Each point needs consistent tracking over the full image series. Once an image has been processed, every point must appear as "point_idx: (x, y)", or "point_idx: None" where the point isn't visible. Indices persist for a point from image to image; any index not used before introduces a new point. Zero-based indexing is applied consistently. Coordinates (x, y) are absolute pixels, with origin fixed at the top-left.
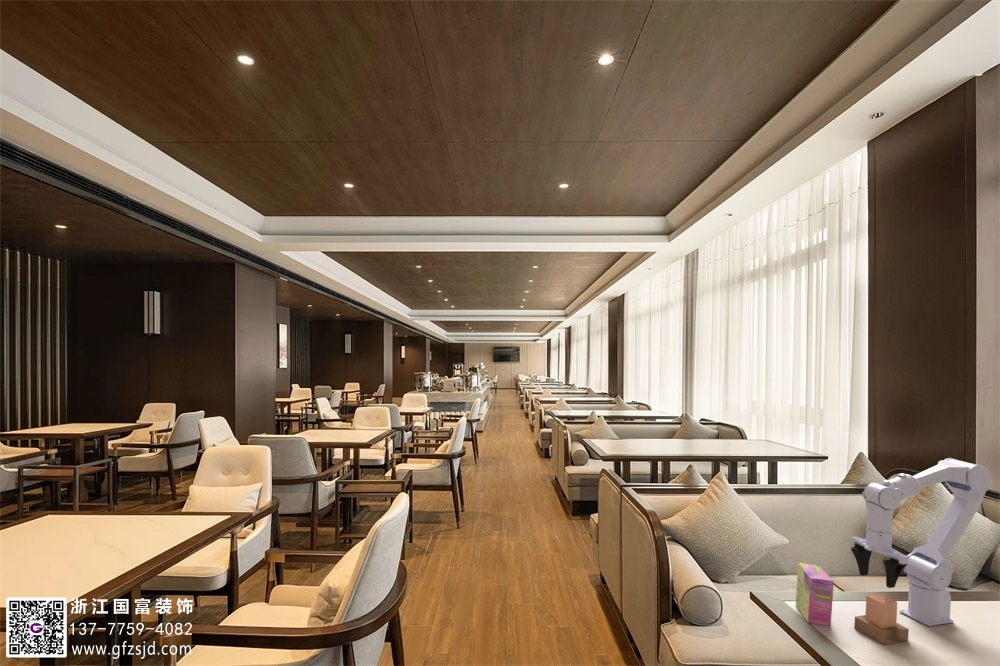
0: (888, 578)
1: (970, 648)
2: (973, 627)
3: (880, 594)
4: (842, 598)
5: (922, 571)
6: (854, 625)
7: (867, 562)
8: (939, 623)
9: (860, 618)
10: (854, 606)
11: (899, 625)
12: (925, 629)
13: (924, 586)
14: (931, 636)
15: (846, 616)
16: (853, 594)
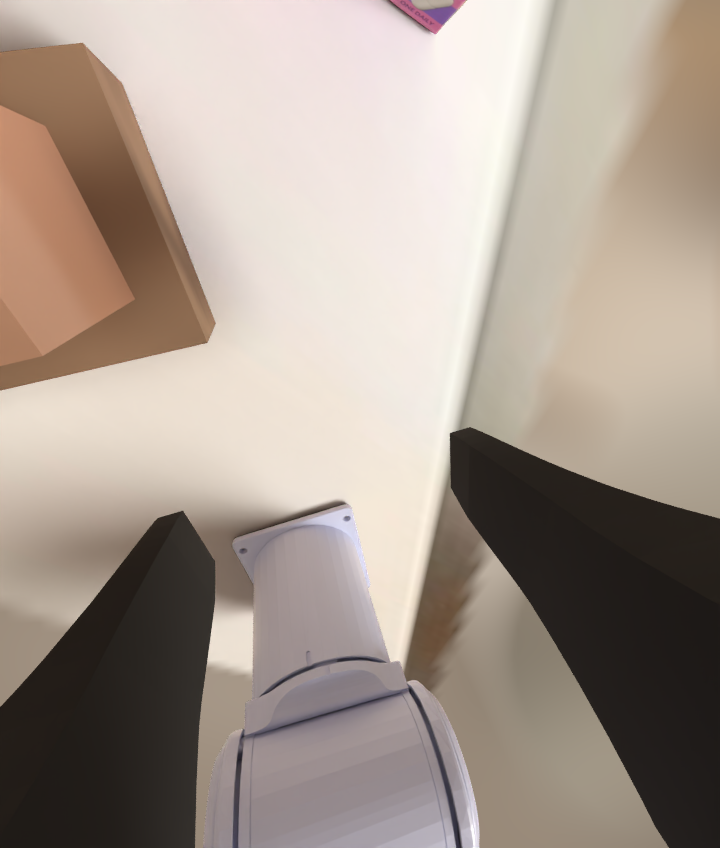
0: (94, 608)
1: (54, 581)
2: (248, 642)
3: (15, 352)
4: (493, 347)
5: (292, 822)
6: (115, 77)
7: (531, 584)
8: (250, 577)
9: (50, 79)
10: (417, 348)
11: (19, 365)
12: (205, 515)
13: (273, 701)
14: (135, 504)
15: (312, 194)
16: (506, 423)
